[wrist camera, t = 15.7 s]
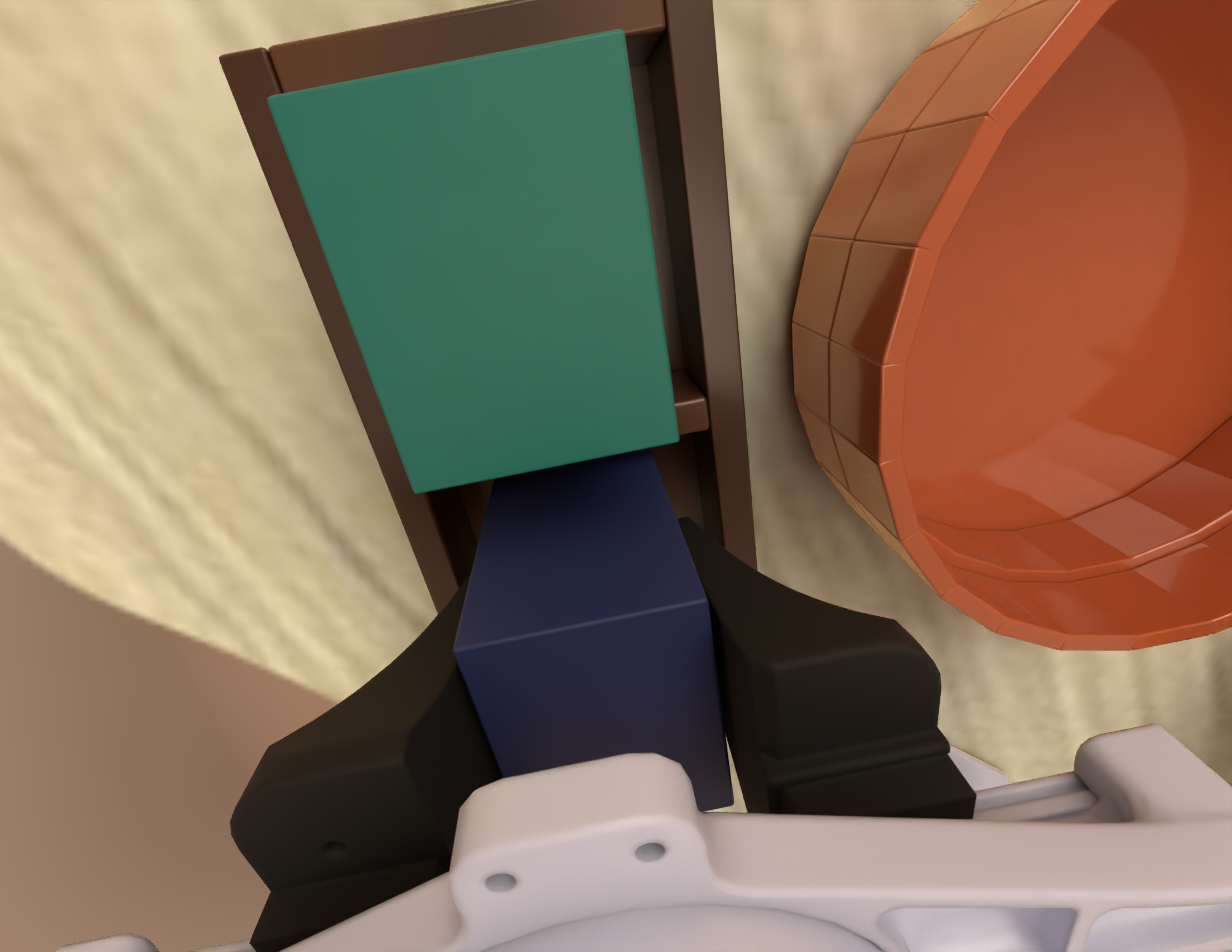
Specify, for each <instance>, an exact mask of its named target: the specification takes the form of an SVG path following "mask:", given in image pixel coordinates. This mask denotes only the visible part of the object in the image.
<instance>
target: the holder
mask: <svg viewBox="0 0 1232 952" xmlns="http://www.w3.org/2000/svg"><path fill="white" fill-rule="evenodd" d="M616 29H621V30H623V31H624V33H625V39H626V46H627V54H628V61H629V69H630V76H631V83H632V91H633V98H634V106H635V113H636V120H637V128H638V135H639V143H640V150H641V157H642V165H643V172H644V179H645V187H646V194H647V202H648V209H649V216H650V224H651V231H652V239H653V246H654V253H655V261H656V268H657V276H658V283H659V290H660V298H661V305H662V313H663V320H664V327H665V335H666V342H667V349H668V357H669V364H670V372H671V379H672V386H673V394H674V401H675V409H676V416H677V423H678V431H679V438H680V439H679V442H677V443H672V444H667V445H662V446H657V447H652V448H650V449H651V452H652V454H653V457H654V459H655V462H656V465H657V467H658V470H659V473H660V475H661V478H662V480H663V483H664V486H665V488H666V491H667V494H668V496H669V499H670V501H671V504H672V507H673V509H674V512H675V515H676V517H677V519H678V518H683V517H689V518H691V519H692V520H694V521H695V522H696V523H697V524H698V525H699V526H700V527H701V528H702V529H703V530H704V531H705V532H706V533H707V534H708V535H710V536H711V537H712V538H713V539H714V540H715V541H717V542H718V543H719V544H720V545H721V546H723V547H724V548H725V549H727V550H728V551H729V552H730V553H732V554H733V555H734V556H736V557H737V558H739V559H740V560H741V561H743V562H744V563H746V564H747V565H749V566H750V567H752V568H753V569H755V570H756V571H757V559H756V546H755V534H754V521H753V508H752V496H751V483H750V470H749V458H748V445H747V432H746V420H745V407H744V394H743V381H742V369H741V356H740V343H739V331H738V318H737V305H736V293H735V280H734V267H733V255H732V242H731V229H730V216H729V204H728V191H727V178H726V166H725V153H724V140H723V128H722V115H721V102H720V90H719V77H718V64H717V51H716V39H715V26H714V13H713V1H712V0H507V1H502V2H497V3H492V4H487V5H481V6H476V7H471V8H466V9H461V10H455V11H450V12H445V13H440V14H434V15H429V16H424V17H419V18H414V19H408V20H403V21H398V22H393V23H388V24H382V25H377V26H372V27H367V28H361V29H356V30H351V31H346V32H341V33H335V34H330V35H325V36H320V37H314V38H309V39H304V40H299V41H294V42H288V43H283V44H278V45H273V46H271V47H270V48H269V50H267V49H266V48H262V47H261V48H255V49H250V50H245V51H240V52H234V53H229V54H224V55H221V56H220V57H219V61H220V63H221V66H222V69H223V71H224V74H225V76H226V79H227V81H228V84H229V86H230V89H231V91H232V94H233V96H234V99H235V101H236V104H237V106H238V109H239V112H240V114H241V117H242V119H243V122H244V124H245V127H246V129H247V132H248V134H249V137H250V139H251V142H252V144H253V147H254V149H255V152H256V155H257V157H258V160H259V162H260V165H261V167H262V170H263V172H264V175H265V177H266V180H267V182H268V185H269V187H270V190H271V192H272V195H273V197H274V200H275V203H276V205H277V208H278V210H279V213H280V215H281V218H282V220H283V223H284V225H285V228H286V230H287V233H288V235H289V238H290V240H291V243H292V246H293V248H294V251H295V253H296V256H297V258H298V261H299V263H300V266H301V268H302V271H303V273H304V276H305V278H306V281H307V283H308V286H309V289H310V291H311V294H312V296H313V299H314V301H315V304H316V306H317V309H318V311H319V314H320V316H321V319H322V321H323V324H324V326H325V329H326V332H327V334H328V337H329V339H330V342H331V344H332V347H333V349H334V352H335V354H336V357H337V359H338V362H339V364H340V367H341V369H342V372H343V375H344V377H345V380H346V382H347V385H348V387H349V390H350V392H351V395H352V397H353V400H354V402H355V405H356V407H357V410H358V412H359V415H360V418H361V420H362V423H363V425H364V428H365V430H366V433H367V435H368V438H369V440H370V443H371V445H372V448H373V450H374V453H375V455H376V458H377V460H378V463H379V466H380V468H381V471H382V473H383V476H384V478H385V481H386V483H387V486H388V488H389V491H390V493H391V496H392V498H393V501H394V503H395V506H396V509H397V511H398V514H399V516H400V519H401V521H402V524H403V526H404V529H405V531H406V534H407V536H408V539H409V541H410V544H411V546H412V549H413V552H414V554H415V557H416V559H417V562H418V564H419V567H420V569H421V572H422V574H423V577H424V579H425V582H426V584H427V587H428V589H429V592H430V595H431V597H432V600H433V602H434V605H435V607H436V610H437V612H438V614H439V613H440V612H441V611H442V610H443V609H444V607H445V606H446V605H447V604H448V603H449V601H450V600H451V599H452V597H453V596H454V595H455V594H456V592H457V591H458V590H459V588H460V587H461V586H462V584H463V583H464V582H465V580H466V579H467V578H468V576H469V575H470V574H471V572H472V568H473V564H474V559H475V555H476V551H477V547H478V543H479V539H480V534H481V530H482V526H483V522H484V518H485V514H486V510H487V505H488V501H489V497H490V493H491V489H492V485H493V481H494V479H491V480H486V481H481V482H476V483H470V484H465V485H460V486H455V487H450V488H445V489H440V490H435V491H430V492H425V493H420V494H415V493H414V492H413V489H412V487H411V484H410V481H409V479H408V476H407V473H406V471H405V468H404V465H403V463H402V460H401V457H400V455H399V452H398V449H397V447H396V444H395V441H394V439H393V436H392V433H391V431H390V428H389V425H388V423H387V420H386V417H385V415H384V412H383V409H382V407H381V404H380V401H379V399H378V396H377V393H376V391H375V388H374V385H373V383H372V380H371V377H370V375H369V372H368V369H367V367H366V364H365V361H364V359H363V356H362V353H361V351H360V348H359V345H358V343H357V340H356V337H355V335H354V332H353V329H352V327H351V324H350V321H349V319H348V316H347V313H346V311H345V308H344V305H343V303H342V300H341V297H340V295H339V292H338V289H337V287H336V284H335V281H334V279H333V276H332V273H331V271H330V268H329V265H328V263H327V260H326V257H325V255H324V252H323V249H322V247H321V244H320V241H319V239H318V236H317V233H316V231H315V228H314V225H313V223H312V220H311V217H310V215H309V212H308V209H307V207H306V204H305V201H304V199H303V196H302V193H301V191H300V188H299V185H298V183H297V180H296V177H295V175H294V172H293V169H292V167H291V164H290V161H289V159H288V156H287V153H286V151H285V148H284V145H283V143H282V140H281V137H280V135H279V132H278V129H277V127H276V124H275V121H274V119H273V116H272V113H271V111H270V108H269V105H268V102H267V98H268V97H270V96H273V95H278V94H283V93H288V92H293V91H299V90H304V89H309V88H314V87H319V86H325V85H330V84H335V83H340V82H345V81H351V80H356V79H361V78H366V77H371V76H377V75H382V74H387V73H392V72H397V71H403V70H408V69H413V68H418V67H423V66H429V65H434V64H439V63H444V62H449V61H455V60H460V59H465V58H470V57H475V56H481V55H486V54H491V53H496V52H501V51H507V50H512V49H517V48H522V47H527V46H533V45H538V44H543V43H548V42H553V41H559V40H564V39H569V38H574V37H579V36H584V35H590V34H595V33H600V32H605V31H610V30H616Z"/></svg>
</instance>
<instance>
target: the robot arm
mask: <svg viewBox="0 0 1232 952" xmlns="http://www.w3.org/2000/svg"><path fill="white" fill-rule="evenodd" d="M677 520H678V522H679V525H680V528H681V530H682V533H683V536H684V538H685V541H686V544H687V546H688V549H689V551H690V554H691V557H692V559H693V562H694V565H695V567H696V570H697V572H698V575H699V578H700V580H701V583H702V586H703V588H704V591H705V593H706V596H707V599H708V604H709V611H710V619H711V627H712V635H713V642H714V650H715V658H716V666H717V673H718V681H719V689H720V697H721V704H722V712H723V720H724V728H725V734H726V737H727V741H728V744H729V748H730V751H731V755H732V758H733V762H734V765H735V769H736V772H737V776H738V779H739V783H740V787H741V790H742V794H743V798H744V801H745V805H746V809H747V812H748V813H728V812H700V811H699V810H698V809H697V805H696V800H695V796H694V792H693V787H692V783H691V780H690V778H689V777H688V775H687V774H686V772H685V770H684V769H683V767H682V766H681V764H680V763H678V762H675V761H673V760H670V759H668V758H666V757H663V756H661V755H659V754H656V753H625V754H620V755H615V756H610V757H606V758H601V759H596V760H591V761H586V762H581V763H576V764H571V765H566V766H561V767H556V768H551V769H546V770H541V771H536V772H531V773H527V774H522V775H517V776H512V777H507V778H503V777H502V775H501V772H500V770H499V767H498V765H497V762H496V760H495V757H494V754H493V752H492V749H491V747H490V744H489V742H488V739H487V737H486V734H485V732H484V729H483V727H482V724H481V722H480V719H479V716H478V714H477V711H476V709H475V706H474V704H473V701H472V699H471V696H470V694H469V691H468V689H467V686H466V684H465V681H464V679H463V676H462V673H461V671H460V668H459V666H458V663H457V661H456V658H455V656H454V653H453V647H454V642H455V638H456V634H457V630H458V626H459V622H460V618H461V613H462V609H463V605H464V601H465V597H466V593H467V588H468V584H469V580H470V576H471V574H470V575H469V576H468V578H467V579H466V580H465V582H464V583H463V584H462V586H461V587H460V588H459V590H458V591H457V592H456V594H455V595H454V596H453V597H452V599H451V600H450V601H449V603H448V604H447V605H446V606H445V607H444V609H443V610H442V611H441V612H440V613H439V614H438V615H437V617H436V618H435V619H434V620H433V621H432V622H431V624H430V625H429V626H428V627H427V628H426V629H425V630H424V632H423V633H422V634H421V635H420V636H419V637H418V638H417V639H416V640H415V641H414V642H413V643H412V644H411V645H410V646H409V647H408V648H407V649H406V650H405V651H404V652H403V653H401V654H400V655H399V656H398V657H397V658H396V659H395V660H394V661H393V662H392V663H391V664H389V665H388V666H387V667H386V668H384V669H383V670H382V671H381V672H380V673H378V674H377V675H376V676H375V677H373V678H372V679H371V680H370V681H369V682H367V683H366V684H365V685H364V686H362V687H361V688H360V689H359V690H357V691H356V692H354V693H353V694H352V695H350V696H349V697H347V698H346V699H345V700H343V701H342V702H340V703H339V704H338V705H336V706H335V707H333V708H332V709H330V710H329V711H327V712H326V713H324V714H323V715H321V716H319V717H318V718H316V719H315V720H314V721H312V722H310V723H308V724H306V725H305V726H303V727H301V728H300V729H298V730H296V731H295V732H293V733H291V734H289V735H288V736H286V737H284V738H283V739H281V740H279V741H278V742H276V743H274V744H272V745H270V746H269V747H268V749H267V750H266V752H265V753H264V755H263V757H262V759H261V761H260V763H259V765H258V766H257V768H256V770H255V772H254V774H253V776H252V778H251V779H250V781H249V783H248V785H247V787H246V789H245V791H244V792H243V794H242V796H241V798H240V800H239V802H238V803H237V806H236V807H235V810H234V812H233V815H232V818H231V820H230V826H231V835H232V837H233V839H234V841H235V843H236V845H237V847H238V848H239V850H240V852H241V853H242V854H243V856H244V857H245V858H246V859H247V861H248V862H249V863H250V865H251V866H252V867H253V869H254V870H255V871H256V872H257V874H258V875H259V876H260V878H261V879H262V880H263V882H264V883H265V884H266V885H267V887H268V888H269V889H270V891H271V893H270V895H269V897H268V900H267V902H266V904H265V907H264V909H263V912H262V914H261V916H260V918H259V921H258V923H257V926H256V928H255V930H254V933H253V935H252V938H251V939H249V940H244V941H239V942H234V943H229V944H224V945H219V946H214V947H209V948H205V949H200V950H195V951H190V952H1232V786H1231V785H1230V784H1229V783H1227V782H1226V781H1225V780H1224V779H1223V778H1222V777H1220V776H1219V775H1218V774H1217V773H1216V772H1215V771H1213V770H1212V769H1211V768H1210V767H1209V766H1208V765H1206V764H1205V763H1204V762H1203V761H1202V760H1201V759H1199V758H1198V757H1197V756H1196V755H1195V754H1194V753H1192V752H1191V751H1190V750H1189V749H1188V748H1187V747H1185V746H1184V745H1183V744H1182V743H1181V742H1180V741H1178V740H1177V739H1176V738H1175V737H1174V736H1173V735H1172V734H1170V733H1169V732H1168V731H1167V730H1166V729H1165V728H1163V727H1162V726H1161V725H1159V724H1149V725H1144V726H1140V727H1135V728H1130V729H1125V730H1120V731H1115V732H1110V733H1105V734H1100V735H1097V736H1094V737H1092V738H1089V739H1088V740H1086V741H1085V742H1084V743H1082V744H1081V745H1080V747H1079V749H1078V750H1077V753H1076V756H1075V762H1074V771H1072V772H1067V773H1062V774H1057V775H1052V776H1047V777H1042V778H1038V779H1033V780H1028V781H1023V782H1018V783H1013V784H1009V783H1010V781H1009V778H1008V777H1007V776H1006V774H1005V773H1004V772H1003V771H1002V770H1000V769H998V768H996V767H994V766H992V765H990V764H988V763H986V762H984V761H982V760H980V759H978V758H976V757H974V756H972V755H970V754H968V753H966V752H964V751H962V750H960V749H958V748H956V747H954V746H952V745H949V742H948V741H947V740H946V738H945V737H944V735H943V734H942V733H941V731H940V730H939V729H938V727H937V724H938V715H939V705H940V696H941V676H940V672H939V670H938V668H937V666H936V664H935V662H934V661H933V660H932V659H931V657H930V656H929V655H928V654H927V652H926V651H925V650H924V649H923V648H922V646H921V645H920V644H919V643H918V642H917V641H916V640H915V639H914V638H913V637H912V636H911V635H910V634H909V633H908V632H907V631H906V630H905V629H904V628H903V627H902V626H901V625H900V624H899V623H898V622H897V621H896V620H894V619H889V618H884V617H880V616H875V615H871V614H866V613H861V612H857V611H853V610H849V609H846V608H843V607H839V606H836V605H833V604H829V603H826V602H824V601H821V600H818V599H815V598H812V597H810V596H808V595H805V594H803V593H800V592H798V591H795V590H793V589H791V588H789V587H786V586H784V585H782V584H780V583H778V582H776V581H774V580H773V579H771V578H769V577H767V576H765V575H763V574H761V573H760V572H758V571H756V570H755V569H753V568H752V567H750V566H749V565H747V564H746V563H744V562H743V561H741V560H740V559H739V558H737V557H736V556H734V555H733V554H732V553H730V552H729V551H728V550H727V549H725V548H724V547H723V546H721V545H720V544H719V543H718V542H717V541H715V540H714V539H713V538H712V537H711V536H710V535H708V534H707V533H706V532H705V531H704V530H703V529H702V528H701V527H700V526H699V525H698V524H697V523H696V522H695V521H694V520H692V519H691V518H689V517H683V518H678V519H677ZM56 952H159V951H158V950H157V948H156V947H155V945H154V944H153V943H152V942H151V941H150V940H148V939H146V938H145V937H143V936H140V935H136V934H118V935H113V936H108V937H103V938H99V939H94V940H89V941H84V942H79V943H74V944H69V945H65V946H63V947H61V948H59V949H57V951H56Z"/></svg>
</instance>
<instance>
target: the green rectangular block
mask: <svg viewBox="0 0 1232 952" xmlns="http://www.w3.org/2000/svg"><path fill="white" fill-rule="evenodd" d="M267 102H268V105H269V108H270V111H271V113H272V116H273V119H274V121H275V124H276V127H277V129H278V132H279V135H280V137H281V140H282V143H283V145H284V148H285V151H286V153H287V156H288V159H289V161H290V164H291V167H292V169H293V172H294V175H295V177H296V180H297V183H298V185H299V188H300V191H301V193H302V196H303V199H304V201H305V204H306V207H307V209H308V212H309V215H310V217H311V220H312V223H313V225H314V228H315V231H316V233H317V236H318V239H319V241H320V244H321V247H322V249H323V252H324V255H325V257H326V260H327V263H328V265H329V268H330V271H331V273H332V276H333V279H334V281H335V284H336V287H337V289H338V292H339V295H340V297H341V300H342V303H343V305H344V308H345V311H346V313H347V316H348V319H349V321H350V324H351V327H352V329H353V332H354V335H355V337H356V340H357V343H358V345H359V348H360V351H361V353H362V356H363V359H364V361H365V364H366V367H367V369H368V372H369V375H370V377H371V380H372V383H373V385H374V388H375V391H376V393H377V396H378V399H379V401H380V404H381V407H382V409H383V412H384V415H385V417H386V420H387V423H388V425H389V428H390V431H391V433H392V436H393V439H394V441H395V444H396V447H397V449H398V452H399V455H400V457H401V460H402V463H403V465H404V468H405V471H406V473H407V476H408V479H409V481H410V484H411V487H412V489H413V492H414V493H415V494H420V493H425V492H430V491H435V490H440V489H445V488H450V487H455V486H460V485H465V484H470V483H476V482H481V481H486V480H491V479H496V478H501V477H506V476H511V475H516V474H521V473H526V472H531V471H536V470H541V469H546V468H551V467H556V466H561V465H566V464H571V463H577V462H582V461H587V460H592V459H597V458H602V457H607V456H612V455H617V454H622V453H627V452H632V451H637V450H642V449H647V448H652V447H657V446H662V445H667V444H672V443H677V442H679V439H680V438H679V431H678V423H677V416H676V409H675V401H674V394H673V386H672V379H671V372H670V364H669V357H668V349H667V342H666V335H665V327H664V320H663V313H662V305H661V298H660V290H659V283H658V276H657V268H656V261H655V253H654V246H653V239H652V231H651V224H650V216H649V209H648V202H647V194H646V187H645V179H644V172H643V165H642V157H641V150H640V143H639V135H638V128H637V120H636V113H635V106H634V98H633V91H632V83H631V76H630V69H629V61H628V54H627V46H626V39H625V33H624V31H623V30H621V29H616V30H610V31H605V32H600V33H595V34H590V35H584V36H579V37H574V38H569V39H564V40H559V41H553V42H548V43H543V44H538V45H533V46H527V47H522V48H517V49H512V50H507V51H501V52H496V53H491V54H486V55H481V56H475V57H470V58H465V59H460V60H455V61H449V62H444V63H439V64H434V65H429V66H423V67H418V68H413V69H408V70H403V71H397V72H392V73H387V74H382V75H377V76H371V77H366V78H361V79H356V80H351V81H345V82H340V83H335V84H330V85H325V86H319V87H314V88H309V89H304V90H299V91H293V92H288V93H283V94H278V95H273V96H270V97H268V98H267Z"/></svg>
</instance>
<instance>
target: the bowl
mask: <svg viewBox="0 0 1232 952" xmlns="http://www.w3.org/2000/svg"><path fill="white" fill-rule="evenodd" d="M811 235H812V236H810V238H809V243H808V248H807V253H806V257H805V262H804V267H803V271H802V276H801V281H800V285H799V290H798V295H797V299H796V304H795V309H794V314H793V318H792V320H793V323H792V340H793V367H794V394H795V397H796V402H797V405H798V408H799V411H800V414H801V417H802V420H803V423H804V426H805V429H806V432H807V435H808V438H809V441H810V444H811V447H812V450H813V453H814V456H815V458H816V459H817V462H818V464H819V465H820V466H821V468H822V469H823V470H824V472H825V473H826V474H827V476H828V477H829V478H830V480H831V481H832V482H833V484H834V485H835V486H836V488H837V489H838V490H839V492H840V493H841V494H842V496H843V497H844V498H845V500H846V501H847V503H848V504H849V505H850V506H851V507H852V508H853V509H854V510H855V511H856V512H857V513H858V514H859V515H860V516H861V517H862V518H863V519H864V520H865V521H866V522H867V523H868V524H869V525H870V526H871V527H872V528H873V529H874V530H875V531H876V533H877V534H878V535H879V536H880V537H881V538H882V539H883V540H884V541H885V542H886V543H887V544H888V545H889V546H890V547H891V548H892V549H893V550H894V551H895V552H896V553H897V554H898V555H899V556H900V557H901V558H902V559H903V560H904V561H905V562H906V563H907V564H908V565H909V566H910V567H911V568H912V570H913V571H914V572H915V573H916V574H917V575H918V576H919V577H920V578H921V579H922V580H923V581H924V582H925V583H926V584H927V585H928V586H929V587H930V588H931V589H932V590H933V591H934V592H935V593H936V594H937V595H938V596H939V597H940V598H942V599H943V600H945V601H946V602H948V603H949V604H951V605H952V606H954V607H955V608H957V609H958V610H960V611H961V612H963V613H964V614H966V615H967V616H969V617H970V618H972V619H973V620H975V621H976V622H978V623H979V624H981V625H982V626H984V627H985V628H987V629H989V630H990V631H992V632H994V633H997V634H1000V635H1004V636H1008V637H1012V638H1015V639H1019V640H1023V641H1026V642H1030V643H1034V644H1038V645H1041V646H1045V647H1049V648H1052V649H1056V650H1095V651H1130V650H1138V649H1143V648H1148V647H1152V646H1157V645H1162V644H1167V643H1172V642H1177V641H1182V640H1187V639H1192V638H1197V637H1202V636H1207V635H1209V634H1214V633H1216V632H1219V631H1222V630H1224V629H1227V628H1230V627H1232V0H980V1H979V2H977V3H976V4H975V5H974V6H973V7H972V8H971V9H969V10H968V11H967V12H966V13H965V14H964V15H963V16H961V17H960V18H959V19H958V20H957V21H956V22H955V23H953V24H952V25H951V26H950V27H949V28H948V29H947V30H945V31H944V32H943V33H942V34H941V35H940V36H939V37H937V38H936V39H935V40H934V41H933V42H932V43H931V44H929V45H928V46H927V47H926V48H925V49H924V50H923V51H922V52H921V54H920V55H919V56H917V57H916V58H915V60H914V61H913V62H912V64H911V65H910V66H909V68H908V69H907V70H906V72H905V73H904V74H903V76H902V77H901V78H900V80H899V81H898V82H897V84H896V85H895V87H894V88H893V89H892V91H891V92H890V93H889V95H888V96H887V97H886V99H885V100H884V101H883V103H882V104H881V105H880V107H879V108H878V109H877V111H876V112H875V113H874V115H873V116H872V117H871V119H870V120H869V122H868V123H867V124H866V126H865V127H864V128H863V130H862V131H861V132H860V134H859V135H858V136H857V138H856V139H855V141H854V144H853V145H852V146H851V147H850V149H849V152H848V154H847V156H846V158H845V160H844V163H843V165H842V167H841V169H840V171H839V173H838V176H837V178H836V180H835V182H834V184H833V186H832V189H831V191H830V193H829V195H828V197H827V200H826V202H825V204H824V206H823V208H822V210H821V213H820V215H819V217H818V219H817V221H816V224H815V226H814V228H813V230H812V232H811Z"/></svg>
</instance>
